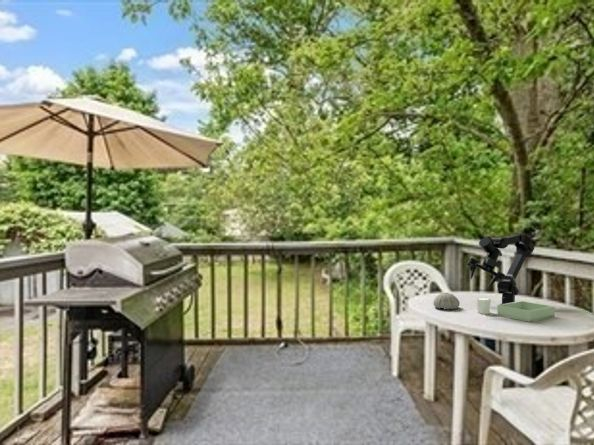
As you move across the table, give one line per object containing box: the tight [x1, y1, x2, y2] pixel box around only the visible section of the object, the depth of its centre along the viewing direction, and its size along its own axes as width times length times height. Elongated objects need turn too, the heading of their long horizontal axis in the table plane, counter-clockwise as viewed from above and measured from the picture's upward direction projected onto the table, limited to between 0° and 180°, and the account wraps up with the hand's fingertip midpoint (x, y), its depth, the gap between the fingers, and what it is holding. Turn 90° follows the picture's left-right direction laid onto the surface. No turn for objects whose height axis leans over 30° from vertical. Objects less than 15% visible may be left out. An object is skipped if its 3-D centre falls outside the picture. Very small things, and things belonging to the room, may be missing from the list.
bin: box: [496, 300, 556, 323], centre depth 278 cm, size 18×18×5 cm
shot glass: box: [476, 297, 492, 315], centre depth 287 cm, size 7×7×7 cm
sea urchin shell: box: [433, 292, 461, 310], centre depth 300 cm, size 13×14×8 cm
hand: (479, 283), depth 287 cm, fingers open, 9 cm apart
